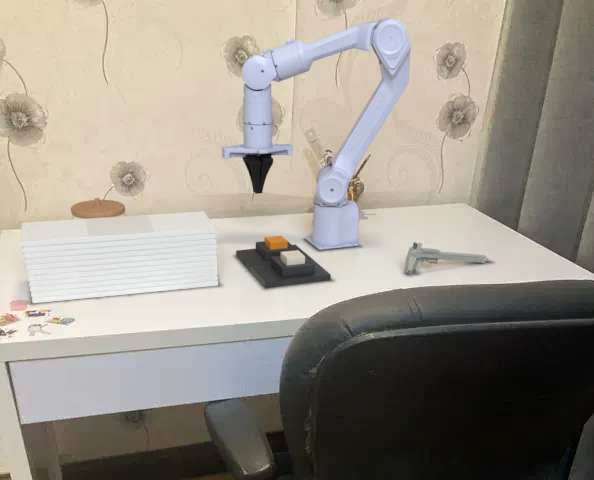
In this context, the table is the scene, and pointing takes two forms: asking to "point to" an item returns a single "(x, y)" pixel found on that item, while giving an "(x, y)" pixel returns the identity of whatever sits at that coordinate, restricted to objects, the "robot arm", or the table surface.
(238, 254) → the keypad
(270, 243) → the amber key
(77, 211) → the trinket box
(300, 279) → the keypad
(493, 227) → the table surface
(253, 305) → the table surface
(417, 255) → the caliper
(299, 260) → the white key
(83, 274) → the stack of papers
